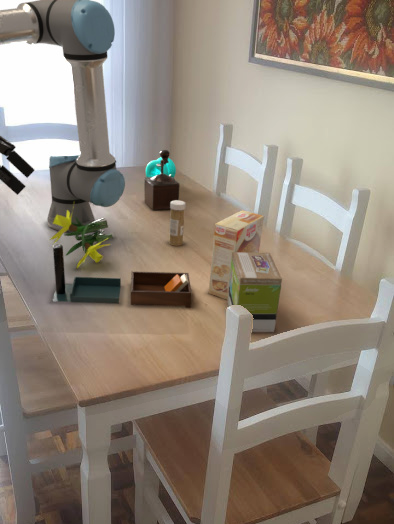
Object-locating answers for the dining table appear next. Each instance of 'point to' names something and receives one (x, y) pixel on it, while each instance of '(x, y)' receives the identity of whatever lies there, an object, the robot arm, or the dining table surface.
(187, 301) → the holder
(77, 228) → the daffodil flowers
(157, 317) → the dining table surface
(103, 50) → the robot arm
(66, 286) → the green tray with post
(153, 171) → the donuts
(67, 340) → the dining table surface
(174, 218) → the spice jar
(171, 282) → the sachet orange
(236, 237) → the coffeecake box
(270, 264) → the tea box
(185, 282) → the block
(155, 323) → the dining table surface
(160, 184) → the wooden coffee grinder
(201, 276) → the dining table surface
